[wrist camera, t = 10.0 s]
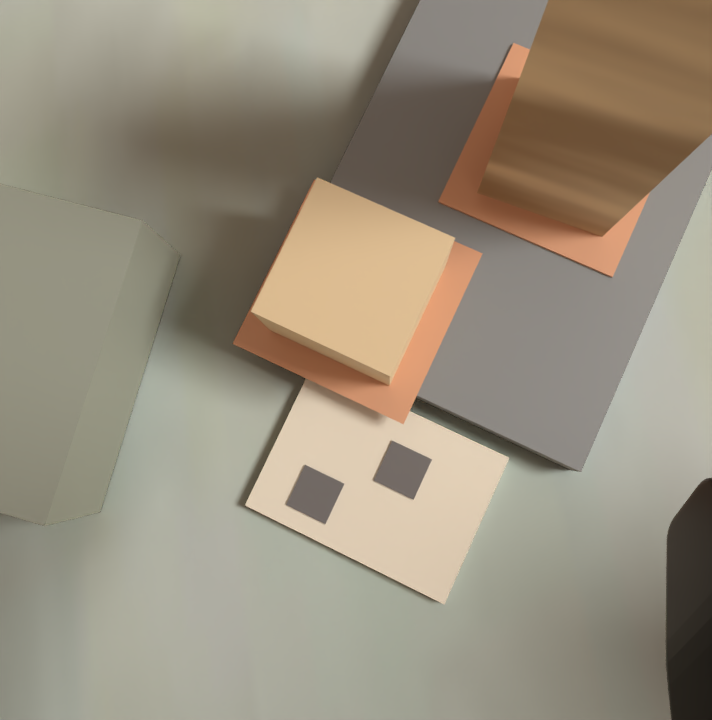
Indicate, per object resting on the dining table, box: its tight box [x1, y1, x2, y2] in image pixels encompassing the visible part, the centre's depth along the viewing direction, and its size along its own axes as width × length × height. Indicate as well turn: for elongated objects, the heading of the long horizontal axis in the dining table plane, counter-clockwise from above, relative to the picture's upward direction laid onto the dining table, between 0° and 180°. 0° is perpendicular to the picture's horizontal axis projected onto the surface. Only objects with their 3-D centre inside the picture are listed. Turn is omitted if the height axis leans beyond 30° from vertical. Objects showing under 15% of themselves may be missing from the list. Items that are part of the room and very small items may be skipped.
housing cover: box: [0, 184, 180, 526], centre depth 20 cm, size 9×7×4 cm
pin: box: [477, 0, 712, 237], centre depth 14 cm, size 4×4×13 cm
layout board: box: [233, 0, 712, 472], centre depth 20 cm, size 15×12×4 cm
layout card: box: [245, 379, 509, 604], centre depth 21 cm, size 5×7×1 cm
